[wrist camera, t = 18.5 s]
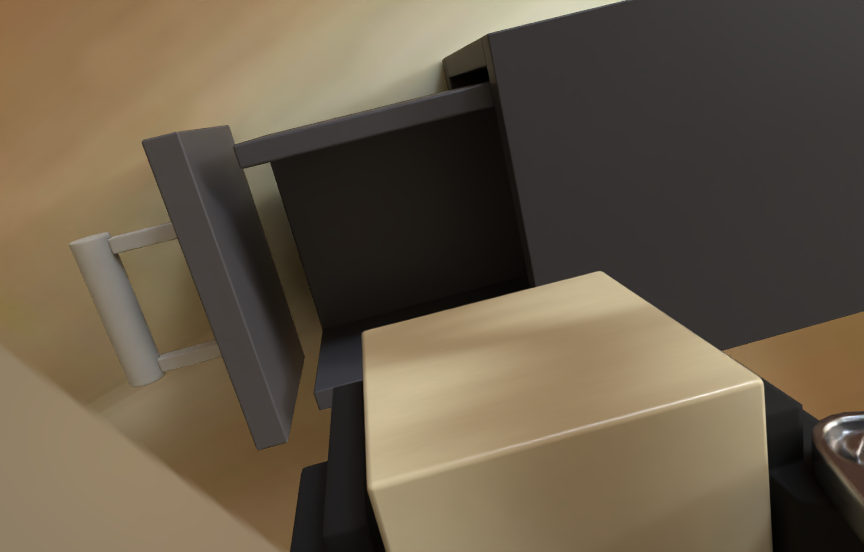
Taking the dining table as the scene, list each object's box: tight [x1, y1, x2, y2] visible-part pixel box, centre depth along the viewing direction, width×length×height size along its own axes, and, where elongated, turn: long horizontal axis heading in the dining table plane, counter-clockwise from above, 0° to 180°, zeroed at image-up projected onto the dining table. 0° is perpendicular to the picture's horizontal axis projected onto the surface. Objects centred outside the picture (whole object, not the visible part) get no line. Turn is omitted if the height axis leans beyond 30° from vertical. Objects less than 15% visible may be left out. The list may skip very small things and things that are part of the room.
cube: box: [361, 271, 773, 552], centre depth 9 cm, size 4×4×4 cm
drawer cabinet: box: [442, 0, 864, 351], centre depth 25 cm, size 15×13×10 cm
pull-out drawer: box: [69, 80, 530, 450], centre depth 24 cm, size 18×12×8 cm, turn 103°
